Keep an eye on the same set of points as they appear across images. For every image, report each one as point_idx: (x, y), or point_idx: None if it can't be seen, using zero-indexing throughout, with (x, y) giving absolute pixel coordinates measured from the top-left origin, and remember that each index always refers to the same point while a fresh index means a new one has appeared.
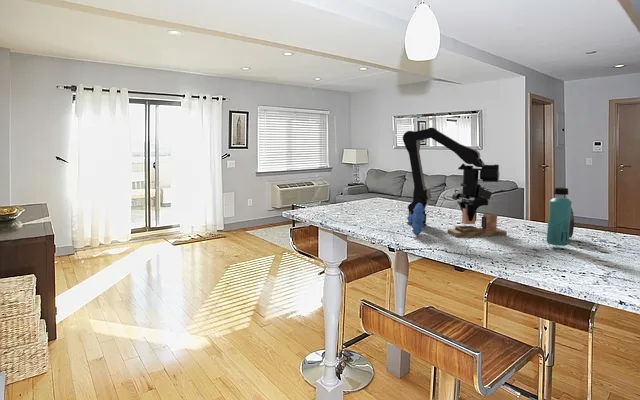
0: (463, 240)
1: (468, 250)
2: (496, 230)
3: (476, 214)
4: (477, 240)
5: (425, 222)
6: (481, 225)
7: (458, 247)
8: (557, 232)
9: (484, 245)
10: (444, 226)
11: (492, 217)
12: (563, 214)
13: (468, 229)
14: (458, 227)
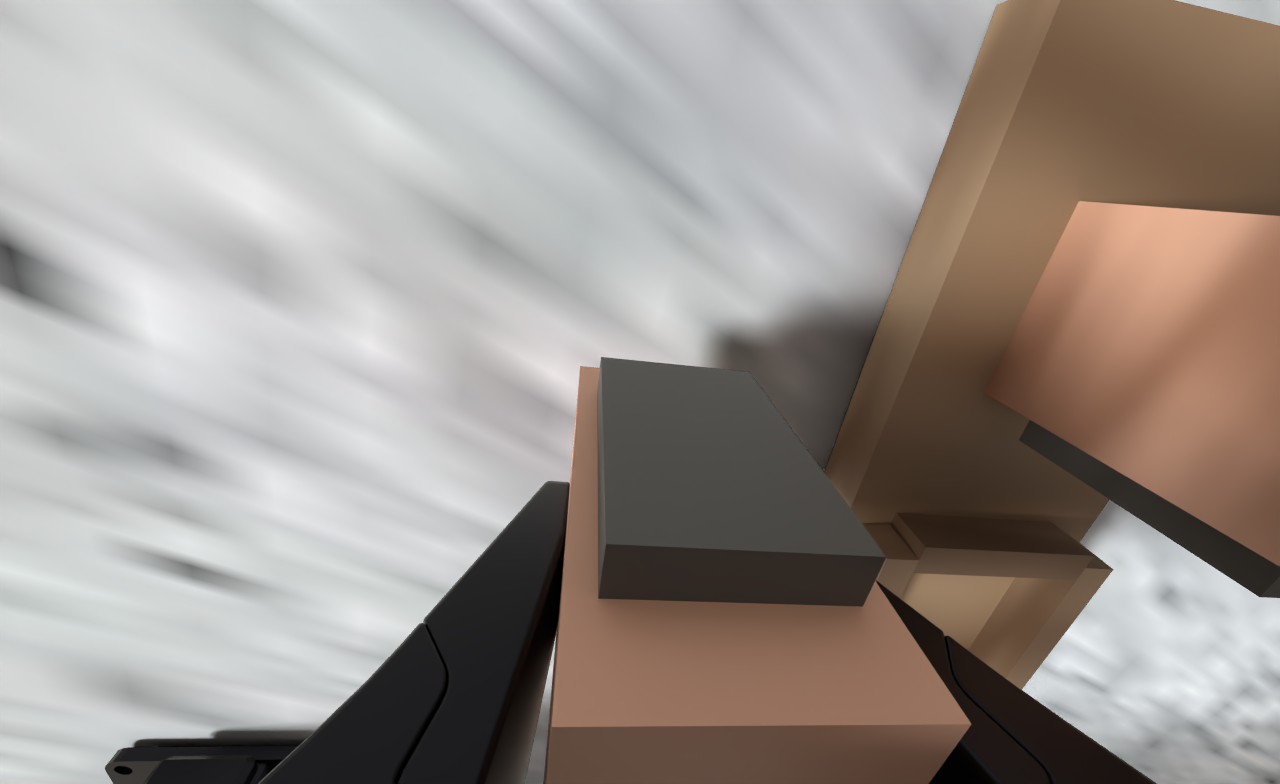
0: (1046, 684)
1: (1240, 750)
2: (1206, 206)
3: (821, 472)
4: (1132, 595)
5: (249, 774)
6: (1048, 457)
7: (1150, 769)
8: None
9: (1271, 624)
10: (366, 595)
11: None
12: None
13: (1031, 671)
14: None
